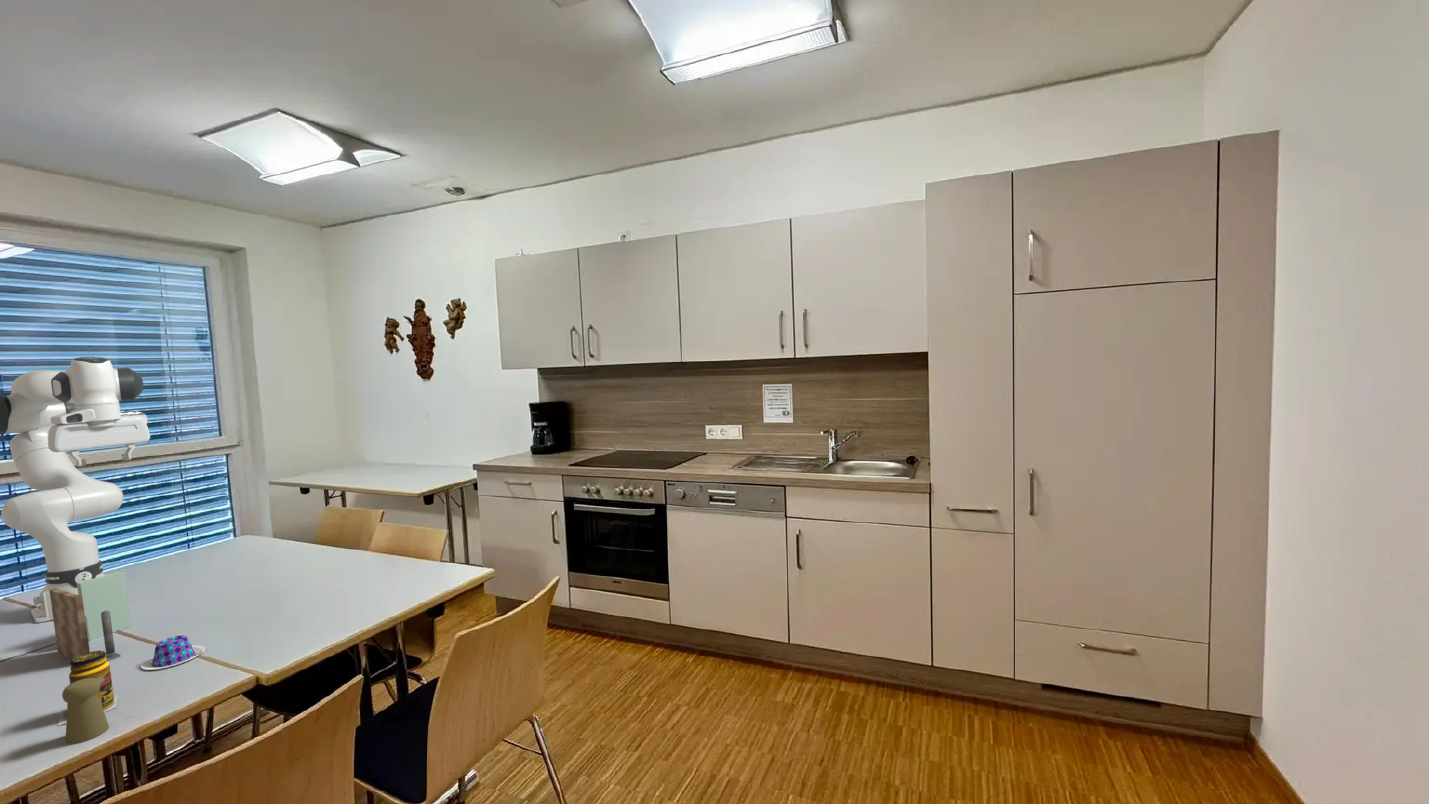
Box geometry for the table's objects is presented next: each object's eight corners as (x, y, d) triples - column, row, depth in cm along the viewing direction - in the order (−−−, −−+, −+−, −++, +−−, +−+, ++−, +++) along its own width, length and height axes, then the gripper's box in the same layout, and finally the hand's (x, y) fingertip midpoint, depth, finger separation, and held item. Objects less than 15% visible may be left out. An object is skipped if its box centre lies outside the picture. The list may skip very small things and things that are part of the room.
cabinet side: (58, 652, 155) (49, 590, 154) (85, 643, 160) (77, 582, 159) (91, 666, 146) (83, 600, 145) (120, 656, 151) (112, 592, 150)
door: (58, 646, 159) (50, 588, 158) (125, 624, 171) (118, 571, 170) (66, 649, 157) (58, 590, 156) (133, 626, 169) (126, 572, 168)
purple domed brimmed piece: (194, 644, 157) (192, 625, 156) (213, 654, 151) (211, 634, 150) (133, 665, 147) (131, 645, 146) (151, 677, 140) (148, 656, 140)
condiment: (116, 708, 127) (109, 655, 126) (57, 726, 121) (50, 671, 120) (117, 695, 132) (110, 644, 131) (61, 712, 126) (54, 659, 125)
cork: (117, 725, 121) (110, 673, 120) (83, 744, 115) (76, 690, 114) (91, 724, 121) (84, 673, 120) (56, 744, 115) (48, 690, 114)
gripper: (140, 410, 176) (146, 456, 177) (41, 418, 158) (48, 469, 159) (151, 410, 174) (157, 456, 175) (51, 418, 155) (58, 470, 156)
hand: (104, 462), depth 167 cm, fingers open, 8 cm apart
